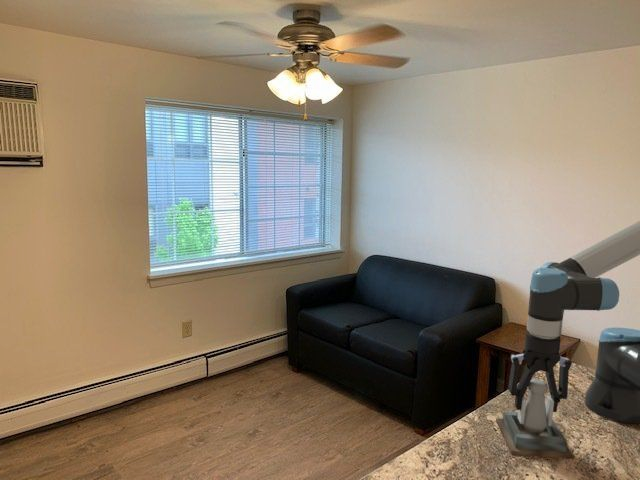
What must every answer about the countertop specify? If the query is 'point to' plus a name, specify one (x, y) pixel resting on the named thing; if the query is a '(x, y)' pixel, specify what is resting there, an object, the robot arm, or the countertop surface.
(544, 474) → the countertop surface
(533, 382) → the salt shaker
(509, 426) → the collar socket
